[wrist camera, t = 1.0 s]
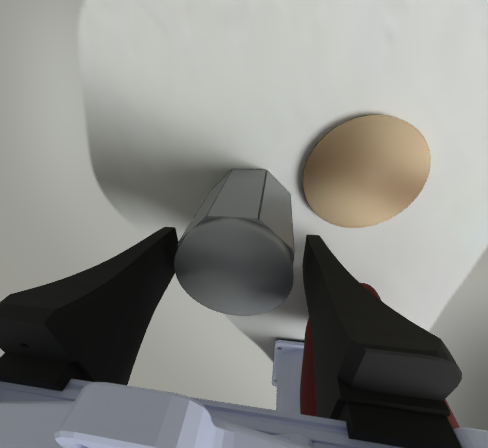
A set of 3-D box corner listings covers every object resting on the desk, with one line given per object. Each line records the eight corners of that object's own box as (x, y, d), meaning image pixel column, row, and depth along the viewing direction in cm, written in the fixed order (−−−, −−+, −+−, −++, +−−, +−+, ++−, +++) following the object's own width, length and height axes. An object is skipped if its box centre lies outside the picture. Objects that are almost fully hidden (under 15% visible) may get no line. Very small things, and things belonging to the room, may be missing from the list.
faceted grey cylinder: (286, 240, 18) (288, 320, 12) (215, 236, 19) (184, 310, 13) (292, 170, 15) (299, 230, 9) (208, 168, 16) (162, 223, 10)
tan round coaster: (402, 226, 16) (405, 230, 15) (297, 221, 17) (298, 225, 16) (447, 114, 12) (453, 114, 12) (310, 115, 13) (310, 116, 13)
